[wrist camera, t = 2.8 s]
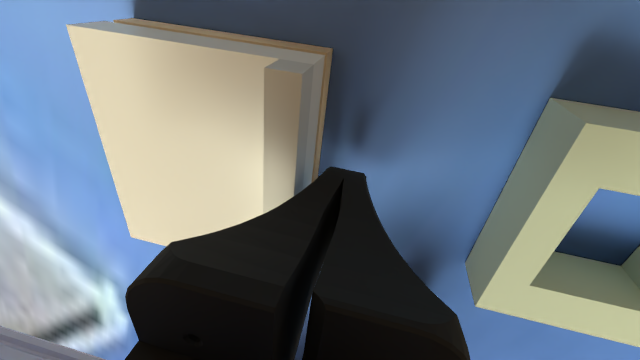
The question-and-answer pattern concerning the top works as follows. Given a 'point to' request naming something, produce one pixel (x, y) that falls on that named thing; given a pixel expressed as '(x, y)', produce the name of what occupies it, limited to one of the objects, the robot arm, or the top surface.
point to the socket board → (562, 226)
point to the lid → (198, 125)
